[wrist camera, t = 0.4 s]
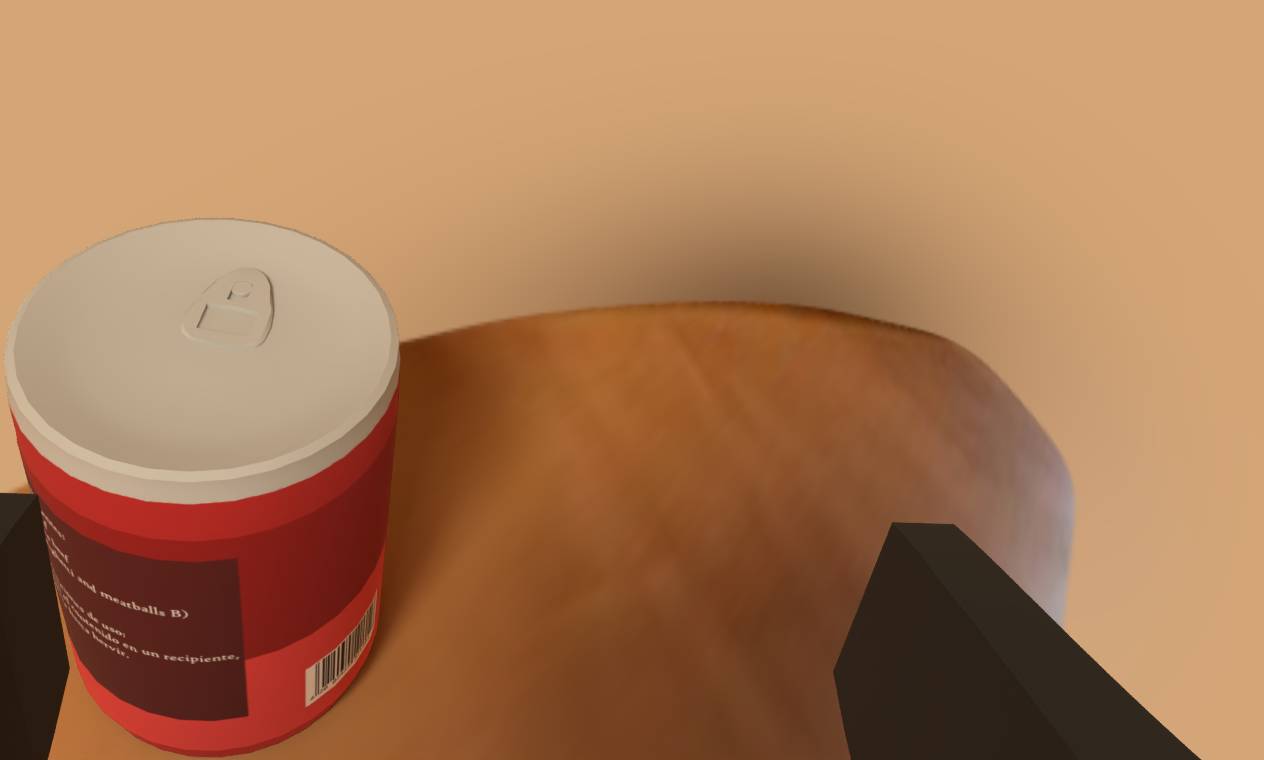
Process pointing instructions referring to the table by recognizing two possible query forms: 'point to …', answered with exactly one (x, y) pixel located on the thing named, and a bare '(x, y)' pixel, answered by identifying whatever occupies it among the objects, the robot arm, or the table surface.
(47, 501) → the canned food
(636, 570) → the table surface
